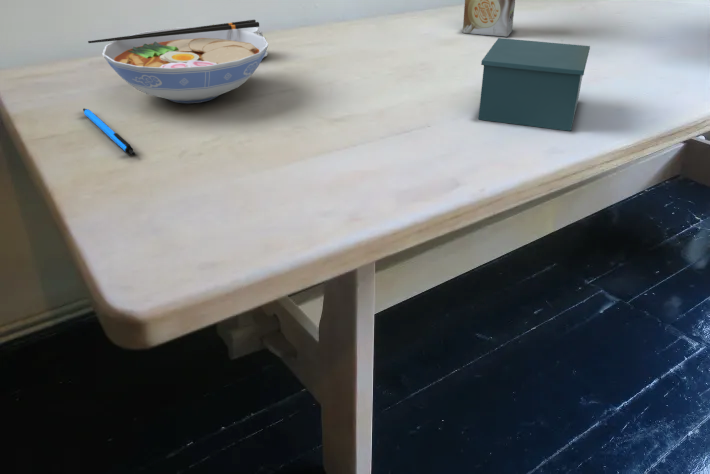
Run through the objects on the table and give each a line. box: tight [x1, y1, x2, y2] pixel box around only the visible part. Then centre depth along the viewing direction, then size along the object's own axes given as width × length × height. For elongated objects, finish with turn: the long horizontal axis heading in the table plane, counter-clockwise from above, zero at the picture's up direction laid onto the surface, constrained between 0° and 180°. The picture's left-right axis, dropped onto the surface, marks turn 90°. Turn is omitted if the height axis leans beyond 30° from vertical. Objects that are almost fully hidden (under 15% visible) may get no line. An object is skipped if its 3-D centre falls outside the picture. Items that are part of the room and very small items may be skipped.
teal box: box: [478, 37, 591, 132], centre depth 90 cm, size 13×13×8 cm
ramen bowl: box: [87, 19, 269, 105], centre depth 95 cm, size 25×23×8 cm
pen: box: [82, 108, 136, 156], centre depth 84 cm, size 1×19×1 cm, turn 36°
